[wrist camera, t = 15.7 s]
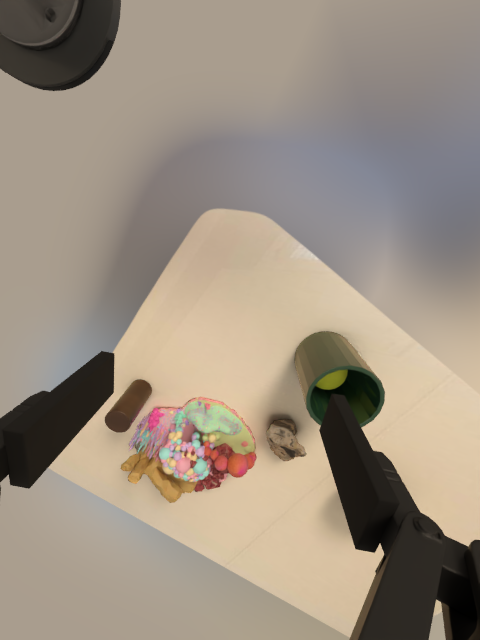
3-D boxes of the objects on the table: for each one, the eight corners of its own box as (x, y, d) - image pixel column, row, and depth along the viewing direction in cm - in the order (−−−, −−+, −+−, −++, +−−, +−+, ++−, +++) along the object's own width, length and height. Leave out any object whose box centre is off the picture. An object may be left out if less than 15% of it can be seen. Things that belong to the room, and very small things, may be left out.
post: (131, 377, 55) (104, 409, 45) (152, 381, 55) (130, 413, 45) (130, 396, 56) (104, 430, 47) (151, 399, 56) (129, 434, 47)
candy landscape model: (200, 500, 64) (191, 542, 56) (118, 445, 61) (94, 481, 52) (272, 438, 57) (274, 476, 49) (183, 371, 53) (169, 399, 45)
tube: (302, 326, 49) (317, 359, 37) (361, 337, 49) (396, 373, 37) (288, 377, 52) (298, 423, 40) (343, 388, 52) (370, 437, 40)
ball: (310, 339, 49) (312, 354, 43) (349, 348, 48) (356, 365, 42) (301, 372, 52) (302, 391, 45) (338, 381, 51) (343, 402, 44)
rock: (319, 449, 56) (315, 441, 48) (295, 476, 54) (286, 473, 46) (288, 418, 61) (279, 406, 53) (265, 442, 60) (253, 434, 52)
